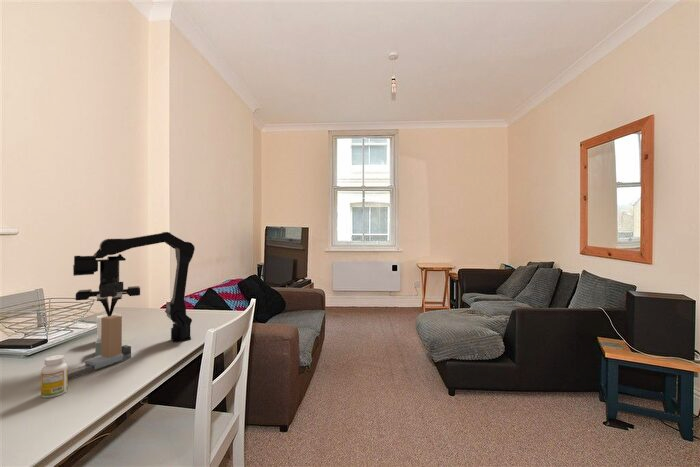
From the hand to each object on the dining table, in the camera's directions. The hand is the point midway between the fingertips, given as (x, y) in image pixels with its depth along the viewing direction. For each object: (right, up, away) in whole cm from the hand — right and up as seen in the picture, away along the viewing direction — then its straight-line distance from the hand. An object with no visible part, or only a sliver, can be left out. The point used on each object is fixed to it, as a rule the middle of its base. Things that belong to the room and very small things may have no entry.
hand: (109, 316), depth 122 cm
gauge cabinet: (0, -13, 0) cm, 13 cm away
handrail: (+5, -13, -15) cm, 21 cm away
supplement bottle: (+7, -13, -31) cm, 34 cm away
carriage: (+7, -12, -12) cm, 18 cm away
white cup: (-10, -13, +13) cm, 21 cm away
